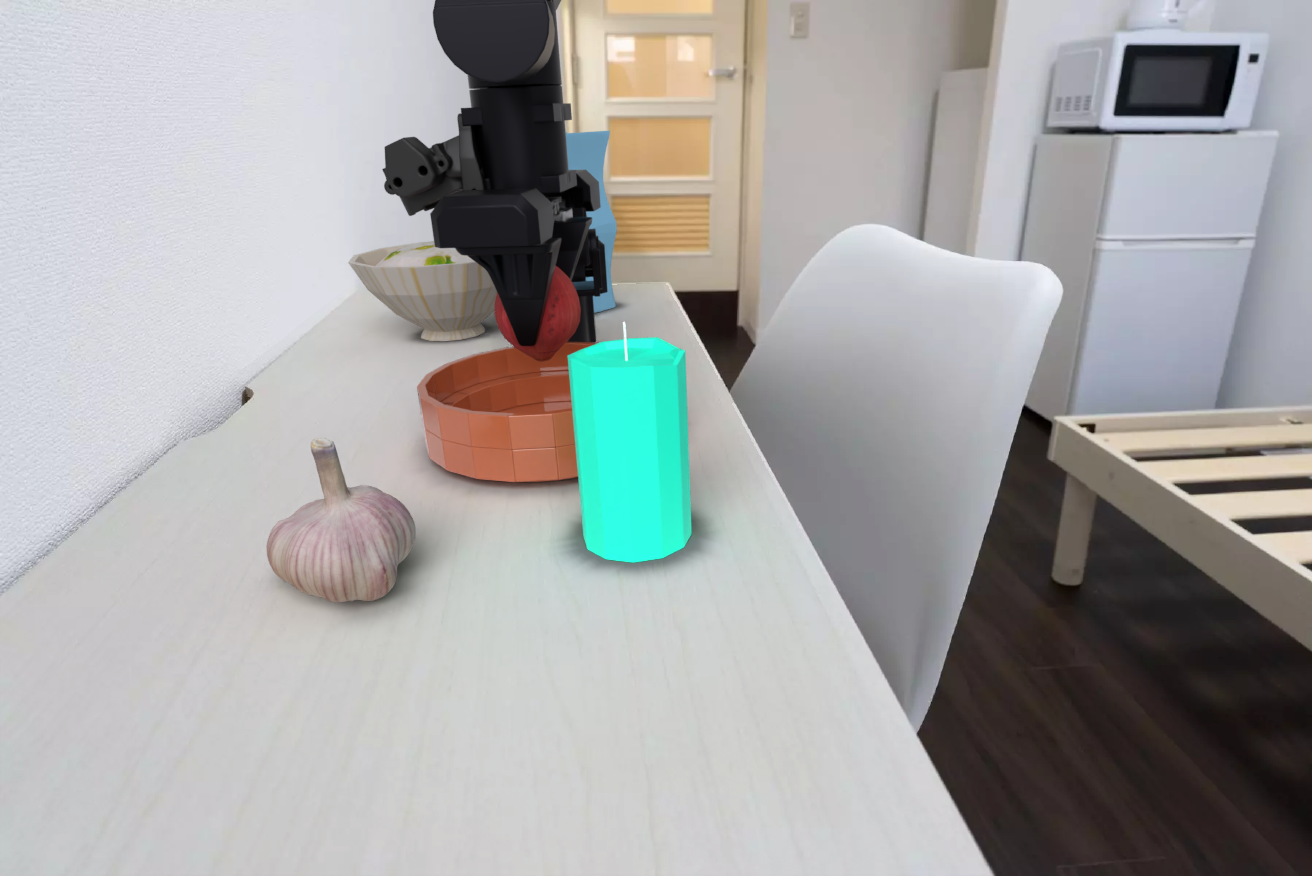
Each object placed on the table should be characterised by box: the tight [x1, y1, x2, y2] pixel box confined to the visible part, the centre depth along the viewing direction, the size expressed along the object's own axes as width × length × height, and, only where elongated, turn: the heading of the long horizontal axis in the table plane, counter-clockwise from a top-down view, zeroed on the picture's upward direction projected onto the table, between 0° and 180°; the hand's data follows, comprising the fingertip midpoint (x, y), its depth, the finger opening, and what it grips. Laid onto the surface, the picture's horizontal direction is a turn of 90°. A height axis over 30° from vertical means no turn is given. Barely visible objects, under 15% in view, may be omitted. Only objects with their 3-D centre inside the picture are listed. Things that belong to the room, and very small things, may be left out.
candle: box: [567, 321, 693, 563], centre depth 44 cm, size 6×6×12 cm
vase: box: [566, 130, 618, 314], centre depth 97 cm, size 8×8×20 cm
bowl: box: [347, 240, 497, 342], centre depth 90 cm, size 19×19×10 cm
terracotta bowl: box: [416, 341, 598, 483], centre depth 59 cm, size 17×17×5 cm
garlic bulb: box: [266, 437, 417, 603], centre depth 41 cm, size 8×7×8 cm
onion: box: [494, 266, 581, 362], centre depth 57 cm, size 6×6×8 cm
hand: (540, 333), depth 57 cm, fingers closed on onion, 6 cm apart
